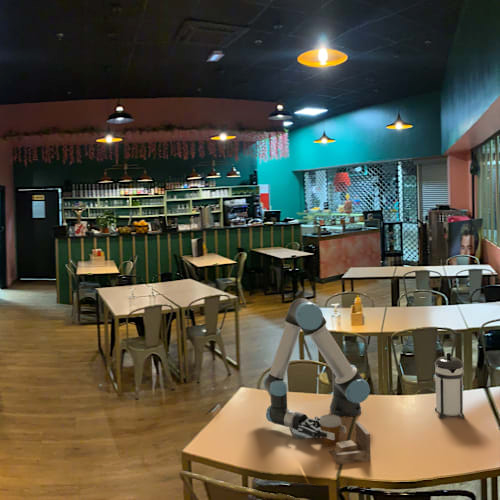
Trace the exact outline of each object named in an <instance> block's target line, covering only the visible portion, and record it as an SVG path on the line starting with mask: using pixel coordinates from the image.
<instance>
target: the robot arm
mask: <svg viewBox="0 0 500 500" xmlns="http://www.w3.org/2000/svg"><path fill="white" fill-rule="evenodd" d="M284 323H285V325H284V329H283V332H282V334H281V337H280V341H279V343H278V346H277V349H276V352H275V356H274V358H273V361H272V365H271V368H270V370H269V373H268V375H267V377H265V379H264V381H263V386H264V389H265V390H266V392H267V393H268V395H269V397H270V398H269V399H270V405H269V406H268V407H267V409H266V412H265V418H266V420H267V421H268V422H270V423H273V424H275V425H279V426H283V427H285V428H288V429H290V428H291V429H295V430H298V432H301V433H304V434H307V435H309V436H311V437H314V439H320V438H322V437H324V438H327V439H331V440H335V433H331V432H328V431H324V430H321V432H320V430H318V429H317V428H318V427H321V426H320V423H319V420H320V417H318V416H314V418H309V417H308V416H307V415H306V414H305V413H302V412H298V411H296V410H295V411H294V410H291V409H288V388H287V383H286V382H285V381H284V380H285V376H286V374H287V371H288V368H289V365H290V362H291V359H292V357H293V356H292V355H293V353H294V351H295V347H296V345H297V342H298V339H299V336H300V333H301V331H302V332H303V334H304V335H305V336H306V337H307V336H308V337H310V340H312V342H313V343H314V345H315V347H316V348H317V350H318V351H319V353H320V354H321V356H322V357H323V359H324V361H325V362H326V363H327V365H328V366H329V368H330V370H331V371H332V372H331V374H332V398H331V402H330V405H329V412H330V414H331V415H336V416H339V417H340V418H349V417H350V418H351V417H357V416H358V415H359V416H360V414H361V413H362V406H361V404H360V403H363V402H364V401H366V400H367V398H368V397H369V396H370V393H371V388H370V384H369V383H368V382H367V380H366V379H364V378H363V376H362V375H361V373H360V372H359V370H358V369H357V366H356V365H354V364H351V363H350V362H349V360H348V359H347V357H346V356H345V355H344V353H343V351H342V349H341V348H340V346H339V345H338V343H337V341H336V340H335V338H334V337H333V336H332V334H331V332H330V331H329V329H328V328H327V326H326V325H327V320H326V318H325V317H324V313H323V311H322V309H321V308H320V306H319V305H317V304H316V303H314V302H312V301H311V300H309V299H307V298H304V297H301V298H299V297H298V298H297V299H294V300H293V301H292V302H291V304H290V306H289V307H288V310H287V313H286V316H285V319H284ZM291 429H290V430H291ZM340 433H343V434H347V426H345V425H343V424H341V425H340ZM316 436H317V437H316ZM320 436H321V437H320Z"/></svg>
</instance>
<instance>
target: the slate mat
mask: <svg viewBox="0 0 500 500" xmlns="http://www.w3.org/2000/svg"><path fill="white" fill-rule="evenodd" d="M289 429H290V431H291V433H292V435H293V437H294V438H295V440H302V439H303V440H305V439H313V438H314V437H311V436H309V435H307V434H304V433H301V432H298V430H295V429H291V428H289ZM317 429H318V430H320V432H321V427H318V428H317ZM316 438H318V437H317V436H316ZM320 438H322V437H321V436H320ZM314 439H315V438H314Z"/></svg>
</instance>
